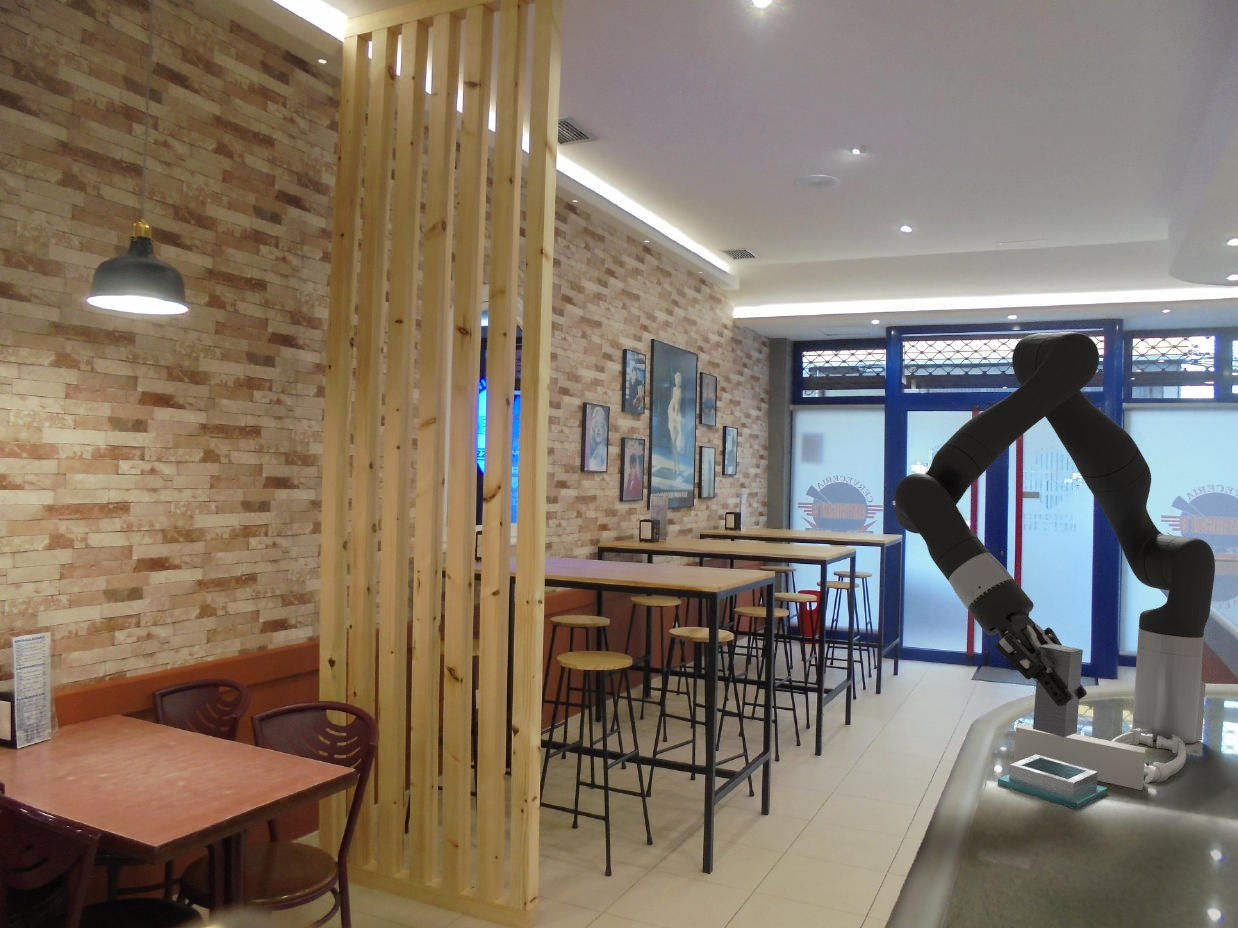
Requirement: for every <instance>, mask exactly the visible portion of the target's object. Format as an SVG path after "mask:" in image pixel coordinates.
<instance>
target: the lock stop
mask: <svg viewBox="0 0 1238 928" xmlns="http://www.w3.org/2000/svg"><path fill="white" fill-rule="evenodd" d="M1039 647H1040V648H1041V649H1042V651H1043V652H1044V654H1045V656H1044V659H1045V660H1046V661H1047V663H1048V664H1049V665H1050V667H1051V668H1052V670H1053V673H1055V674H1056V675H1057V677H1058V678H1059V679H1060V680H1061V682H1062V683H1063V684H1064V686H1065V687H1066V688H1067V689H1068V690H1069V692H1070V693H1071V694H1072V696H1073V699H1072V700H1071V701H1069V702H1068V703H1066V704H1065V705H1063V706H1058V705H1056V703H1055V702H1054V701H1053V699H1052V698H1051V697H1050V696H1049V694H1048V693H1047V692H1046V690H1045V689H1044V688H1043V686H1042V685H1041V684H1040V682H1038V683H1037V682H1036V681H1035V694H1034V708H1033V722H1032V726H1033V729H1035V730H1039V731H1042V732H1046V733H1050V734H1054V735H1057V736H1061V737H1067V736H1069V735H1072V734H1077V733H1078V732H1077V731H1078V722H1079V721H1078V719H1079V707H1080V700H1079V693H1080V684H1081V680H1082V679H1081V677H1082V667H1083V666H1082V664H1083V652H1084V650H1083V649H1082V648H1081V649H1080V648H1078V647H1077V648H1076V647H1071V646H1067V645H1057V644H1047V645H1041V646H1039ZM1053 673H1051V674H1053Z"/></svg>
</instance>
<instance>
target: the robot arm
mask: <svg viewBox="0 0 1238 928" xmlns="http://www.w3.org/2000/svg"><path fill="white" fill-rule="evenodd" d="M1011 356H1012V357H1011V360H1012V361H1011V362H1012V370H1013V373H1014V376H1015V377H1016V380H1017V382H1018V383H1019V385H1020V387H1018V388H1017V389H1016V390H1014V391H1013V392H1011V393H1010V394H1009V395H1007V396H1006V397H1004V398H1002V399H1001V400H1000V401H998V402H996V403H995V404H993V405H992V406H990V407H988V408H986V409H985V410H983V411H982V412H980V413H978V414H977V415H975V416H974V417H972V418H971V419H969V420H968V421H967V422H965V423H964V424H963V425H962V426H961V427H960V428H959V429H958V430H957V431H956V432H954V434H953V435H952V436H950V438H949V439H948V440H947V441H946V442H945V443H944V444H943V445H942V446H941V447H940V448H939V450H937V452H936V453H935V455H934V456H933V458H932V460H931V464H930V466H929V468H928V470H927V471H926V472H925V473H911V474H909V475H906V476H905V477H903V478H902V479H901V480H900V481H899V483H898V484H897V487H896V489H895V492H894V502H895V505H894V506H895V516H896V519H897V521H898V523H899V525H900V526H901V527H902V528H903V529H904V530H906V531H907V532H910V533H913V534H919V535H920V536H921V538H922V539H923V540H924V542H925V545H926V547H927V551H928V554H929V556H930V558H931V559H932V561H933V562H934V564H935V566H936V567H937V568H938V570H939V571H940V572H941V573H942V575H943V576H944V577H945V579H946V580H947V581H948V583H949V584H950V586H951V587H952V589H953V591H954V593H955V594H956V596H957V597H958V599H959V600H960V601H961V603H962V604H963V605H964V606H965V608H966V609H967V610H968V612H969V613H970V614H971V616H972V618H973V619H974V620H975V621H976V623H978V625H979V627H981V629H982V630H983V632H984V633H985V634H986V635H989V636H994V635H998V634H999V637H1000V639H999V640H998V641H997V642H995V643H994V647H995V648H996V649H997V651H998V652H1000V653H1001V654H1002V656H1003V657H1004V658H1006V660H1007V661H1008V662H1009V663H1010V664H1011V665H1012V666H1013V667H1014V668H1015V669H1016V670H1017V671H1018V672H1019V673H1020V674H1021V675H1022V676H1023V677H1024V678H1025V679H1026V680H1027V681H1028V680H1029V681H1030V680H1031V679H1032V680H1033V681H1034V682H1035V683H1036V682H1037V683H1038V682H1040V684H1041V685H1042V686H1043V688H1044V689H1045V690H1046V692H1047V693H1048V694H1049V696H1050V697H1051V698H1052V699H1053V701H1054V702H1055V703H1056V705H1058V706H1063V705H1065V704H1066V703H1068V702H1069V701H1071V700H1072V699H1073V696H1072V694H1071V693H1070V692H1069V690H1068V689H1067V688H1066V687H1065V686H1064V684H1063V683H1062V682H1061V680H1060V679H1059V678H1058V677H1057V675H1056V674H1055V673H1053V670H1052V668H1051V667H1050V665H1049V664H1048V663H1047V661H1046V660H1045V659H1044V656H1045V654H1044V652H1043V651H1042V649H1041V648H1040V647H1039V646H1041V645H1047V644H1057V645H1062V643H1061V641H1060V639H1059V638H1058V636H1057V634H1056V633H1055V631H1054V630H1053V629H1052V628H1051V627H1049V626H1048V627H1047V628H1044V629H1043V628H1042V627H1041V626H1040V625H1039V624H1038V623H1036V621H1034V620H1033V619H1032V618H1031V617H1030V616H1029V615H1030V613H1031V612H1032V611H1033V609H1034V602H1033V601H1032V599H1031V598H1030V597H1029V595H1027V594H1026V592H1025V591H1024V589H1022V587H1021V586H1020V585H1019V584H1018V583H1017V581H1016V580H1015V579H1014V578H1013V576H1012V575H1011V574H1010V573H1009V571H1008V570H1007V569H1006V567H1004V566H1003V564H1002V563H1001V562H1000V561H999V560H997V558H996V557H995V556H994V555H993V554H992V553H991V552H990V551H989V550H988V548H987V547H986V546H985V545H984V543H983V542H982V541H981V540H980V539H979V537H978V536H977V535H976V534H975V533H974V531H973V530H972V529H971V528H970V526H968V524H967V522H966V519H964V516H963V515H962V513H961V511H960V509H959V508H958V506H957V505H958V503H960V501H961V499H962V497H964V495H965V493H966V491H968V490H969V488H970V487H971V486H972V484H974V483H975V482H976V481H977V480H978V479H979V478H980V477H981V476H982V474H984V473H985V472H986V471H987V470H988V469H989V468H990V467H991V466H992V464H994V463H995V462H996V460H997V459H999V457H1000V456H1001V455H1002V454H1003V453H1004V452H1005V451H1006V450H1007V449H1008V448H1009V447H1010V446H1011V445H1013V444H1014V442H1016V441H1017V440H1018V439H1020V437H1022V435H1024V434H1026V432H1027V431H1029V430H1030V429H1031V428H1033V426H1035V425H1036V424H1038V423H1039V422H1040V421H1041V420H1042V419H1044V418H1046V420H1047V421H1048V422H1049V424H1050V426H1051V428H1052V429H1053V430H1054V432H1055V434H1056V436H1057V438H1058V439H1059V441H1060V442H1061V444H1062V445H1063V447H1064V448H1065V450H1066V452H1067V453H1068V455H1069V456H1070V458H1071V460H1072V462H1073V463H1074V465H1075V468H1076V469H1077V471H1078V473H1079V474H1080V476H1081V477H1082V480H1083V481H1084V483H1085V484H1086V486H1087V488H1088V489H1089V491H1090V492H1091V494H1092V495H1093V497H1094V498H1095V499H1096V501H1097V503H1098V504H1099V506H1100V508H1101V510H1102V512H1103V514H1104V515H1105V518H1106V519H1107V521H1108V522H1109V524H1110V526H1111V528H1112V530H1113V532H1114V534H1115V536H1116V538H1117V541H1118V543H1119V545H1120V548H1121V550H1122V552H1123V554H1124V556H1125V559H1126V562H1127V563H1128V565H1129V568H1130V570H1131V571H1132V573H1133V575H1134V576H1135V577H1136V579H1137V580H1138V581H1139V582H1140V583H1142V584H1143V585H1144V586H1147V587H1149V588H1152V589H1153V588H1154V589H1158V590H1163V591H1168V594H1167V600H1166V602H1165V603H1164V604H1163V605H1160V607H1157V608H1150V609H1145V610H1143V611H1142V612H1141V613H1140V615H1139V617H1138V618H1139V620H1138V631H1137V632H1138V633H1137V649H1136V665H1135V676H1134V677H1135V679H1134V680H1135V681H1134V695H1133V708H1132V709H1133V710H1132V724H1131V725H1132V726H1131V730H1132V729H1138V728H1140V729H1141V730H1143V729H1148V734H1153V735H1154V740H1157V737H1158V736H1162V737H1163V738H1166V737H1169V739H1171V738H1172V735H1175V736H1178V737H1179V738H1180V739H1181V740H1182V741H1183V743H1184V744H1194V743H1197V742H1198V741H1200V742H1201V741H1202V742H1203V732H1204V731H1203V729H1204V714H1205V702H1206V700H1205V699H1206V686H1207V685H1206V683H1205V682H1204V681H1202V667H1203V653H1204V652H1203V651H1204V650H1203V649H1204V638H1205V637H1204V636H1205V629H1206V625H1207V622H1208V620H1209V617H1210V614H1211V605H1212V597H1213V592H1214V591H1213V589H1214V583H1215V574H1216V573H1215V572H1216V560H1215V554H1214V552H1213V549H1212V547H1211V545H1210V544H1209V543H1208V542H1207V541H1205V540H1203V539H1201V538H1198V537H1197V538H1196V537H1190V536H1189V537H1188V536H1182V535H1181V536H1179V535H1172V534H1170V535H1169V534H1164V533H1163V532H1161V530H1159V529H1158V527H1157V526H1156V525H1155V523H1154V522H1153V520H1152V518H1151V516H1150V514H1149V513H1148V510H1147V505H1148V499H1149V496H1150V491H1151V485H1152V473H1151V469H1150V467H1149V466H1150V465H1149V464H1148V462H1147V461H1146V459H1145V457H1144V456H1143V454H1142V452H1141V450H1140V449H1139V446H1138V445H1137V444H1136V441H1135V440H1134V439H1133V438H1132V436H1131V435H1130V434H1129V433H1128V431H1126V430H1125V429H1124V428H1123V427H1122V426H1121V425H1120V424H1118V423H1117V422H1116V421H1115V420H1113V419H1112V418H1111V417H1109V416H1108V415H1107V414H1105V413H1104V412H1103V411H1102V410H1100V409H1099V408H1098V407H1096V406H1095V405H1094V404H1093V403H1092V402H1091V401H1090V400H1089V398H1087V396H1085V394H1084V393H1083V392H1082V389H1083V388H1085V386H1087V385H1088V384H1089V383H1090V382H1091V380H1092V379H1093V378H1094V377H1095V375H1096V373H1097V371H1098V369H1099V368H1098V367H1099V365H1100V364H1099V363H1100V354H1099V349H1098V347H1097V345H1096V343H1095V341H1093V339H1092V338H1091V337H1089V336H1088V334H1087V335H1086V334H1084V333H1082V332H1075V331H1059V332H1041V333H1040V332H1038V333H1034V334H1029V335H1026V336H1025V337H1023V338H1021V339H1020V340H1019V341H1017V344H1016V345H1015V347H1014V348H1013V352H1012V355H1011ZM1062 646H1063V645H1062ZM1051 673H1053V674H1051ZM1087 693H1088V692H1087V690H1086V688H1085V687H1084V686H1083V685H1082V684H1081V683H1080V693H1079V701H1080V700H1082V699H1083V698H1084V697H1086V696H1087ZM1148 734H1147V735H1148ZM1171 740H1172V739H1171ZM1180 742H1181V741H1180Z"/></svg>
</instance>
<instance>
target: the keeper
mask: <svg viewBox="0 0 1238 928" xmlns="http://www.w3.org/2000/svg"><path fill="white" fill-rule="evenodd" d="M1097 775H1098V772H1097V771H1093V770H1090V769H1086V768H1083V767H1079V766H1076V765H1072V764H1069V763H1065V762H1061V761H1058V760H1054V759H1051V758H1047V757H1044V756H1040V755H1037V754H1036V755H1033V756H1030V757H1028V758H1025V759H1023V760H1020V761H1018V762H1013V763H1010V764H1009V774H1006V775H1004V776H1001V777H998V778H997V785H998V786H1001V787H1003V788H1008V789H1009V790H1014V791H1016V792H1020V793H1023V794H1026V795H1029V796H1032V797H1036V798H1038V799H1042V800H1045V801H1049V802H1051V803H1054V804H1058V805H1061V806H1064V807H1067V808H1070V809H1073V810H1076V811H1077V810H1079V809H1081V808H1083V807H1085V806H1087V805H1088V804H1091V803H1093V802H1094V801H1096V800H1099V799H1100V798H1102V797H1104V796H1106V795H1108V789H1109V787H1106V786H1102V785H1099V784H1098V780H1097Z"/></svg>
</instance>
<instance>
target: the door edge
mask: <svg viewBox="0 0 1238 928" xmlns="http://www.w3.org/2000/svg"><path fill="white" fill-rule="evenodd" d="M1146 750H1147V749H1146V747H1143V746H1139V745H1134V744H1131V745H1128V744H1123V743H1118V742H1113V741H1112V740H1107V739H1103V738H1102V739H1101V738H1096V737H1091V736H1087V735H1083V734H1077V733H1075V734H1072V735H1069V736H1067V737H1061V736H1057V735H1054V734H1050V733H1046V732H1042V731H1039V730H1035V729H1033V724H1032V725H1031V724H1027V723H1023V722H1019V723H1018V724H1017V725H1016V727H1015V736H1014V750H1013V751H1014V753H1013V763H1015V762H1018V761H1020V760H1023V759H1025V758H1028V757H1030V756H1033V755H1036V754H1037V755H1040V756H1044V757H1047V758H1051V759H1054V760H1058V761H1061V762H1065V763H1069V764H1072V765H1076V766H1079V767H1083V768H1086V769H1090V770H1093V771H1097V772H1098V775H1097V782H1103V783H1109V784H1112V785H1117V786H1120V787H1121V786H1123V787H1125V788H1130V789H1135V790H1140V791H1143V787H1144V783H1145V776H1144V767H1145V764H1146Z"/></svg>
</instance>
